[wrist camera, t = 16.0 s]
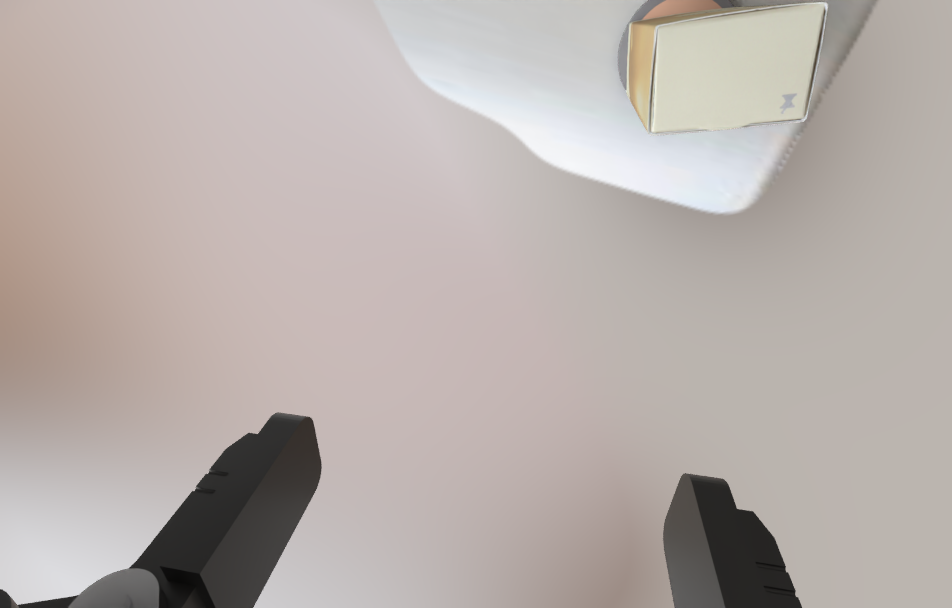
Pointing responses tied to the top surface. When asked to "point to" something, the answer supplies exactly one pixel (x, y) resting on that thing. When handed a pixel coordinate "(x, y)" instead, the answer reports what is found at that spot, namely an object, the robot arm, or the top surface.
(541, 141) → the top surface
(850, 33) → the top surface
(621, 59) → the tile
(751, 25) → the skincare box
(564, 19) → the top surface
